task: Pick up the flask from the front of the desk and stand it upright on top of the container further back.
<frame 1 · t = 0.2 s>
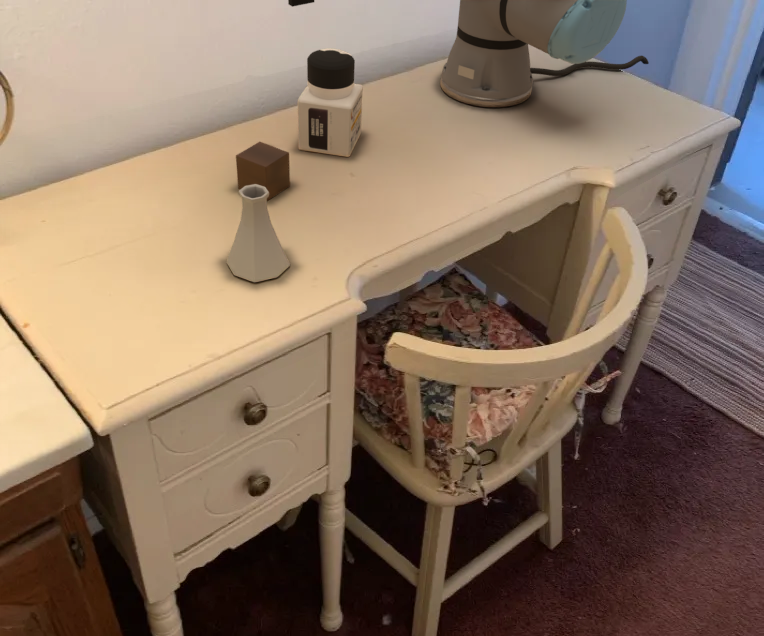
walnut block: (264, 187, 113), on the table
flask: (258, 266, 100), on the table
container: (330, 143, 123), on the table
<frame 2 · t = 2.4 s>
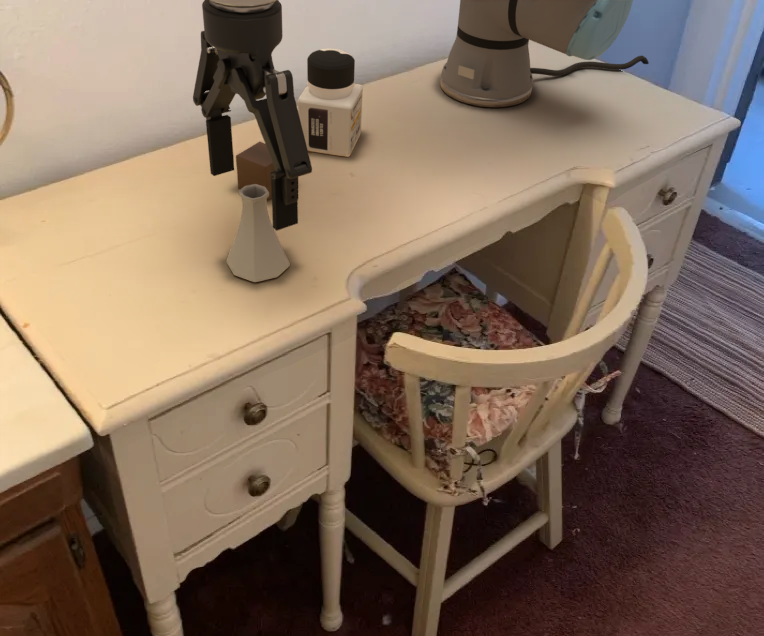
hand: (252, 197, 94), 9 cm above the table, tool pointing down, fingers open, 13 cm apart
nothing on the table moved.
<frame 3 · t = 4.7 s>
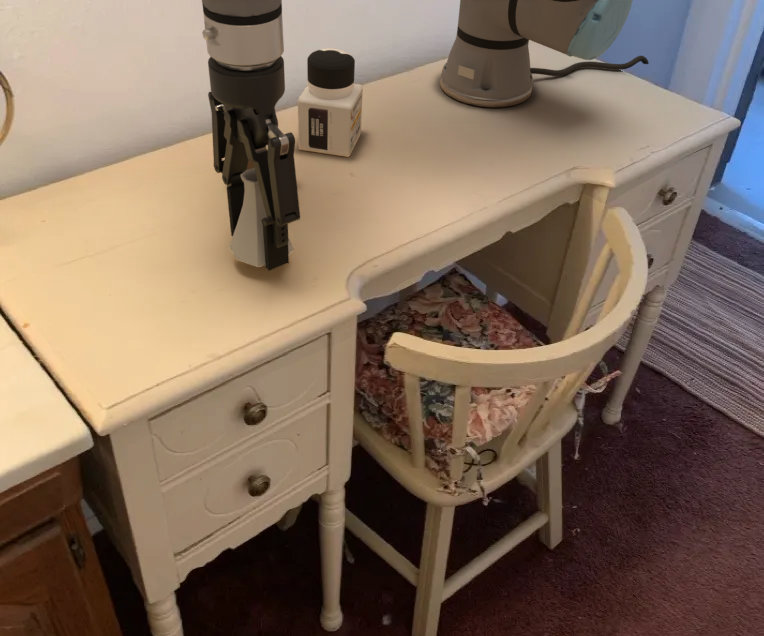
hand: (259, 248, 99), 2 cm above the table, tool pointing down, fingers closed on flask, 7 cm apart
flask: (261, 251, 99), point 2 cm above the table, touching gripper
everything else where it was.
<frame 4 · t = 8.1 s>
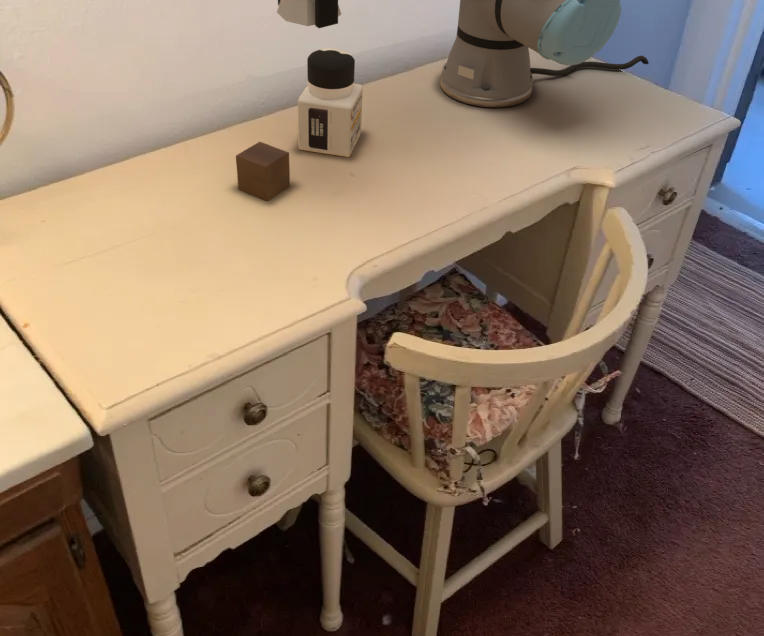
hand: (307, 13, 99), 22 cm above the table, tool pointing down, fingers closed on flask, 7 cm apart
flask: (309, 17, 99), point 22 cm above the table, touching gripper
everything else where it was.
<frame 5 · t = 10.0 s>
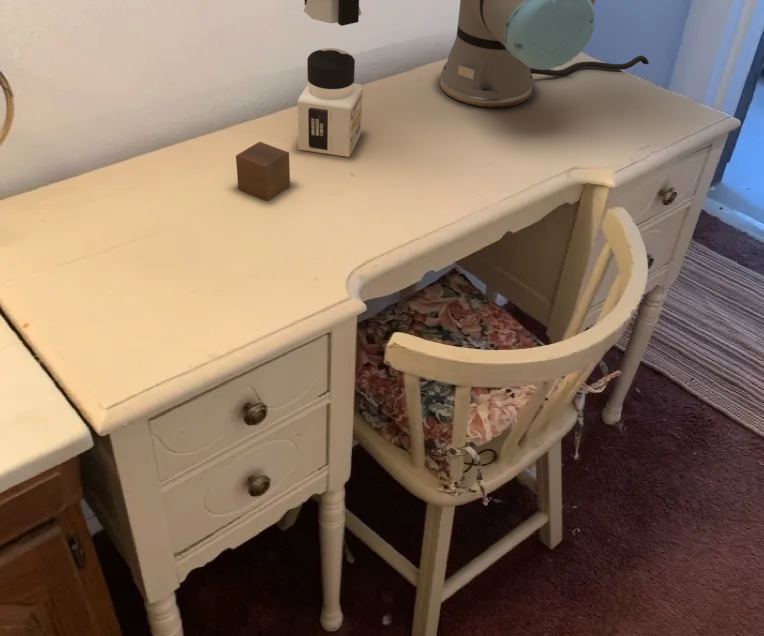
hand: (331, 13, 110), 18 cm above the table, tool pointing down, fingers closed on flask, 7 cm apart
flask: (332, 16, 111), point 18 cm above the table, touching gripper
everything else where it was.
when the fingers open (13 cm above the table, at t = 11.6 s): flask stays where it is, resting on container.
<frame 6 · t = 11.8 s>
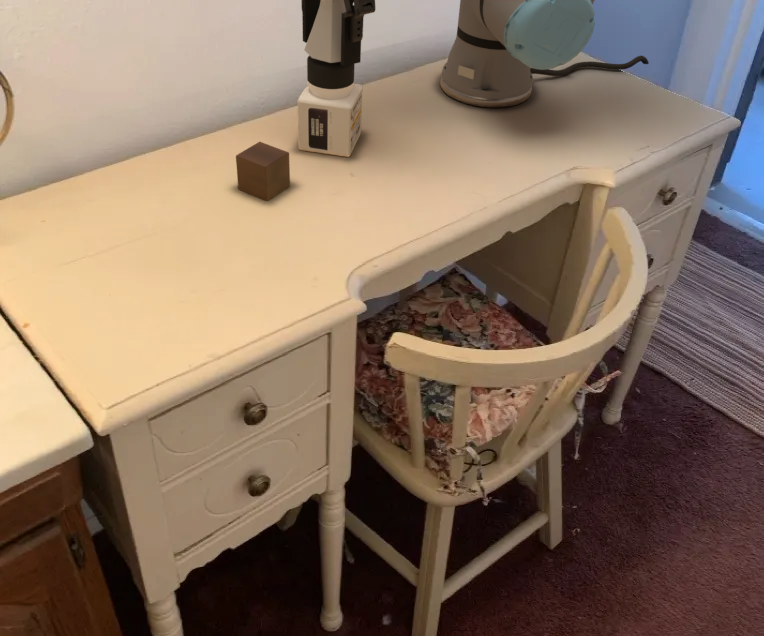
hand: (331, 51, 114), 13 cm above the table, tool pointing down, fingers open, 8 cm apart
flask: (332, 55, 115), point 13 cm above the table, touching container
container: (330, 143, 123), on the table, touching flask
everything else where it was.
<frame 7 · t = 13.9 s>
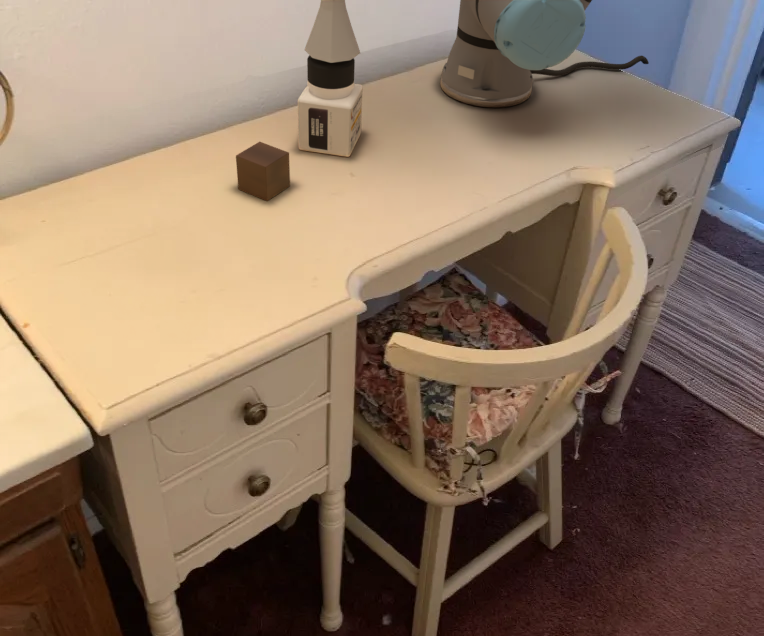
nothing on the table moved.
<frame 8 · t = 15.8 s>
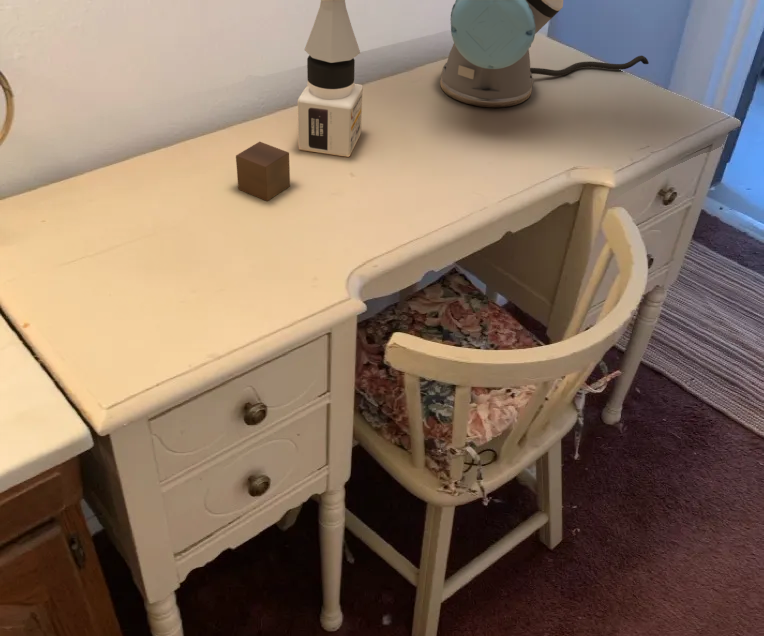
nothing on the table moved.
at the end: flask 0.2 cm off-centre on the container, point 13.0 cm above the container's base; flask tilted 0°; the gripper is holding nothing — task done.
